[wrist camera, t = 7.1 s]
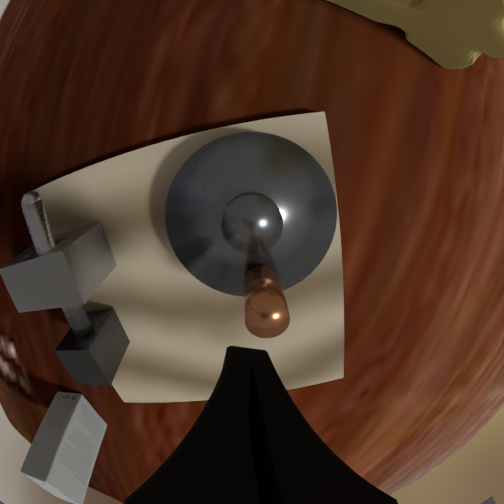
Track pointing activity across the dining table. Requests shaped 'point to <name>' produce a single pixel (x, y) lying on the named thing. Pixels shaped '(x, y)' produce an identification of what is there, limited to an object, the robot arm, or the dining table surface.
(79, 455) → the skincare box
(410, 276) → the dining table surface
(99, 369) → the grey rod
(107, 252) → the block
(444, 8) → the cheese
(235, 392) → the robot arm
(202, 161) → the handwheel
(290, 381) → the board
